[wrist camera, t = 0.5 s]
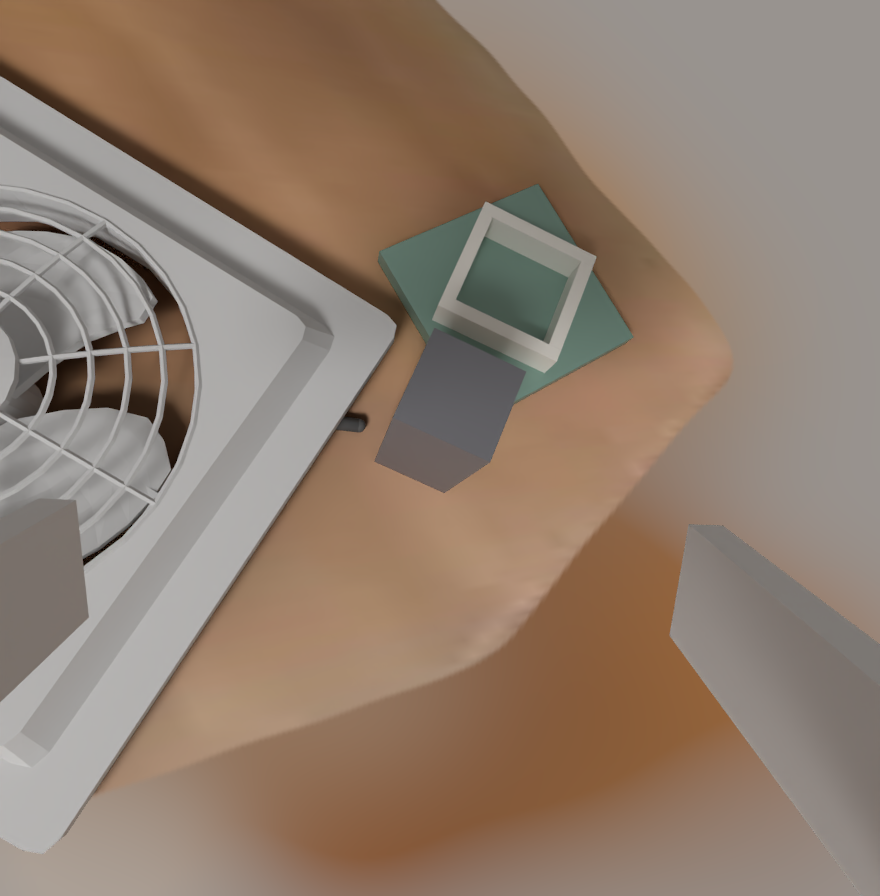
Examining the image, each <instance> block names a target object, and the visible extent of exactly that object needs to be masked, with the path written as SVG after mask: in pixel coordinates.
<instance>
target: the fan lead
mask: <svg viewBox="0 0 880 896" xmlns="http://www.w3.org/2000/svg"><path fill="white" fill-rule="evenodd" d="M365 426H366V425H365V422H364V421H363V420H362V419H359V418H351V417H343V419H342V420H341V422H340V423H339V425H338V426H337V428H336V429H335V430H343V431H352V432H362V431H363V430H364V429H365Z"/></svg>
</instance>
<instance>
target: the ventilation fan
mask: <svg viewBox="0 0 880 896" xmlns="http://www.w3.org/2000/svg"><path fill="white" fill-rule="evenodd" d="M0 222H40V223H44V224H48V225H51V226H54V227H56V228H58V229H60V230H62V231H64V232H66V233H68V234H70V235H72V236H69V235H63V234H58V233H52V232H46V231H9V232H6V231H3V230H0V518H2V517H4V516H6V515H8V514H10V513H12V512H14V511H16V510H18V509H19V508H21V507H23V506H25V505H27V504H29V503H31V502H33V501H35V500H37V499H64V500H76V503H77V512H78V521H79V531H80V540H81V549H82V558H83V559H84V558H86V557H87V556H89V555H91V554H93V553H95V552H96V551H98V550H100V549H101V548H103V547H104V546H105V545H107V544H108V543H109V542H110V541H112V540H113V539H114V538H115V537H117V536H118V535H119V534H121V533H122V532H123V531H124V530H126V529H127V528H128V527H129V526H131V525H132V524H133V522H134V521H135V520H136V519H137V518H138V517H139V516H140V515H141V514H142V512H143V511H144V510H145V509H146V508H147V509H146V510H145V511H144V513H143V514H142V515H141V516H140V517H139V519H138V520H137V521H136V522H135V523H134V524H133V525H132V526H131V528H130V529H129V530H128V531H127V532H126V533H125V534H124V535H123V537H121V538H120V539H119V540H117V541H116V542H115V543H114V544H112V545H111V546H110V547H108V548H107V549H106V550H104V551H103V552H102V553H100V554H99V555H98V556H96V557H95V558H94V559H92V560H91V561H90V562H88V563H87V564H86V565H85V566H83V567H84V577H85V586H86V595H87V604H88V613H89V618H88V619H87V620H86V621H85V622H84V623H83V624H82V625H81V626H79V627H78V628H77V629H76V630H75V631H74V632H73V633H72V634H71V635H70V636H69V637H68V638H67V639H66V640H65V641H64V642H63V643H62V644H61V645H60V646H59V647H58V648H57V649H55V650H54V651H53V652H52V653H51V654H50V655H49V656H48V657H47V658H46V659H45V660H44V661H43V662H42V663H41V664H40V665H39V666H38V667H37V668H36V669H35V670H34V671H33V672H31V673H30V674H29V675H28V676H27V677H26V678H25V679H24V680H23V681H22V682H21V683H20V684H19V685H18V686H17V687H16V688H15V689H14V690H13V691H12V692H11V693H10V694H9V695H7V696H6V697H5V698H4V699H3V700H2V701H1V702H0V838H2V839H4V840H5V841H7V842H9V843H11V844H12V845H14V846H16V847H18V848H19V849H21V850H23V851H28V852H34V853H40V854H44V853H45V852H46V851H47V850H48V849H50V847H52V846H53V845H54V844H55V843H57V842H58V841H59V840H60V839H61V838H62V837H64V836H65V835H66V834H67V833H68V831H69V830H70V828H71V827H72V825H73V824H74V822H75V821H76V819H77V818H78V816H79V815H80V813H81V812H82V810H83V809H84V807H85V806H86V804H87V803H88V801H89V800H90V798H91V797H92V795H93V794H94V792H95V791H96V789H97V788H98V786H99V785H100V783H101V782H102V780H103V779H104V777H105V776H106V774H107V773H108V771H109V770H110V768H111V767H112V765H113V764H114V762H115V761H116V759H117V758H118V756H119V755H120V753H121V752H122V750H123V748H124V747H125V745H126V744H127V742H128V741H129V739H130V738H131V736H132V735H133V733H134V732H135V730H136V729H137V727H138V726H139V724H140V723H141V721H142V720H143V718H144V717H145V715H146V714H147V712H148V711H149V709H150V708H151V706H152V705H153V703H154V702H155V700H156V699H157V697H158V696H159V694H160V693H161V691H162V690H163V688H164V687H165V685H166V684H167V682H168V681H169V679H170V678H171V676H172V675H173V673H174V672H175V670H176V669H177V667H178V666H179V664H180V663H181V661H182V660H183V658H184V657H185V655H186V654H187V652H188V651H189V649H190V648H191V646H192V645H193V643H194V642H195V640H196V639H197V637H198V636H199V634H200V633H201V631H202V630H203V628H204V627H205V625H206V624H207V622H208V621H209V619H210V618H211V616H212V615H213V613H214V612H215V610H216V609H217V607H218V605H219V604H220V602H221V601H222V599H223V598H224V596H225V595H226V593H227V592H228V590H229V589H230V587H231V586H232V584H233V583H234V581H235V580H236V578H237V577H238V575H239V574H240V572H241V571H242V569H243V568H244V566H245V565H246V563H247V562H248V560H249V559H250V557H251V556H252V554H253V553H254V551H255V550H256V548H257V547H258V545H259V544H260V542H261V541H262V539H263V538H264V536H265V535H266V533H267V532H268V530H269V529H270V527H271V526H272V524H273V523H274V521H275V520H276V518H277V517H278V515H279V514H280V512H281V511H282V509H283V508H284V506H285V505H286V503H287V502H288V500H289V499H290V497H291V496H292V494H293V493H294V491H295V490H296V488H297V487H298V485H299V484H300V482H301V481H302V479H303V478H304V476H305V475H306V473H307V472H308V470H309V469H310V467H311V466H312V464H313V462H314V461H315V459H316V458H317V456H318V455H319V453H320V452H321V450H322V449H323V447H324V446H325V444H326V443H327V441H328V440H329V438H330V437H331V435H332V434H333V432H334V431H335V429H336V428H337V426H338V425H339V423H340V422H341V420H342V419H343V417H344V416H345V414H346V413H347V411H348V410H349V408H350V407H351V405H352V404H353V402H354V401H355V399H356V398H357V396H358V395H359V393H360V392H361V390H362V389H363V387H364V386H365V384H366V383H367V381H368V380H369V378H370V377H371V375H372V374H373V372H374V371H375V369H376V368H377V366H378V365H379V363H380V362H381V360H382V359H383V357H384V356H385V354H386V353H387V351H388V350H389V348H390V347H391V345H392V344H393V342H394V337H395V331H396V326H397V325H396V324H395V323H394V322H393V321H392V319H391V318H390V317H389V316H388V315H387V314H385V313H384V312H382V311H381V310H379V309H377V308H376V307H374V306H372V305H371V304H369V303H368V302H366V301H364V300H363V299H361V298H359V297H358V296H356V295H355V294H353V293H351V292H350V291H348V290H346V289H345V288H343V287H342V286H340V285H338V284H337V283H335V282H333V281H332V280H330V279H329V278H327V277H325V276H324V275H322V274H321V273H319V272H317V271H316V270H314V269H312V268H311V267H309V266H308V265H306V264H304V263H303V262H301V261H299V260H298V259H296V258H295V257H293V256H291V255H290V254H288V253H286V252H285V251H283V250H282V249H280V248H278V247H277V246H275V245H273V244H272V243H270V242H269V241H267V240H265V239H264V238H262V237H260V236H259V235H257V234H256V233H254V232H252V231H251V230H249V229H248V228H246V227H244V226H243V225H241V224H239V223H238V222H236V221H235V220H233V219H231V218H230V217H228V216H226V215H225V214H223V213H222V212H220V211H218V210H217V209H215V208H213V207H212V206H210V205H209V204H207V203H205V202H204V201H202V200H200V199H199V198H197V197H196V196H194V195H192V194H191V193H189V192H187V191H186V190H184V189H183V188H181V187H179V186H178V185H176V184H174V183H173V182H171V181H170V180H168V179H166V178H165V177H163V176H162V175H160V174H158V173H157V172H155V171H153V170H152V169H150V168H149V167H147V166H145V165H144V164H142V163H140V162H139V161H137V160H136V159H134V158H132V157H131V156H129V155H127V154H126V153H124V152H123V151H121V150H119V149H118V148H116V147H114V146H113V145H111V144H110V143H108V142H106V141H105V140H103V139H101V138H100V137H98V136H97V135H95V134H93V133H92V132H90V131H89V130H87V129H85V128H84V127H82V126H80V125H79V124H77V123H76V122H74V121H72V120H71V119H69V118H67V117H66V116H64V115H63V114H61V113H59V112H58V111H56V110H54V109H53V108H51V107H50V106H48V105H46V104H45V103H43V102H41V101H40V100H38V99H37V98H35V97H33V96H32V95H30V94H28V93H27V92H25V91H24V90H22V89H20V88H19V87H17V86H15V85H14V84H12V83H11V82H9V81H7V80H6V79H4V78H3V77H1V76H0ZM90 237H96V238H99V239H100V240H102V241H104V242H105V243H107V244H109V245H110V246H112V247H114V248H115V249H117V250H119V251H120V252H122V253H123V254H125V255H127V256H128V257H130V258H132V259H133V260H135V261H137V262H138V263H140V264H141V265H143V266H145V267H146V268H148V269H150V271H151V272H152V273H153V274H154V275H155V276H156V278H157V279H158V280H159V281H160V282H161V283H162V285H163V286H164V287H165V288H166V289H167V290H168V292H169V293H170V294H171V295H172V296H173V297H174V299H175V300H176V301H177V303H178V305H179V308H180V310H181V313H182V316H183V318H184V321H185V324H186V327H187V330H188V333H189V336H190V340H191V343H181V344H164V341H163V338H162V334H161V331H160V328H159V324H158V321H157V318H156V315H155V312H154V311H153V308H154V307H155V305H156V304H157V302H158V301H157V300H156V298H155V297H154V295H153V293H152V292H151V290H150V289H149V287H148V286H147V284H146V283H145V281H144V280H143V279H142V278H141V277H140V276H139V275H138V274H137V273H136V272H135V271H134V270H133V269H132V268H131V267H130V266H129V265H128V264H127V263H126V262H125V261H123V260H122V259H121V258H119V257H118V256H116V255H114V254H113V253H111V252H109V251H108V250H106V249H104V248H103V247H101V246H99V245H97V244H96V243H95V242H93V241H92V240H91V239H89V238H90ZM148 316H150V320H151V323H152V326H153V330H154V333H155V336H156V340H157V343H158V345H148V346H134V347H130V346H129V343H128V339H127V336H126V333H125V328H128V327H132V326H135V325H139V324H142V323H145V321H146V319H147V318H148ZM117 331H118V332H119V336H120V339H121V343H122V346H123V347H121V348H110V349H99V350H93V348H92V344H91V341H94V340H96V339H99V338H102V337H104V336H107V335H109V334H112V333H115V332H117ZM83 346H85V349H86V351H78V352H76V351H77V350H79V349H80V348H82V347H83ZM179 349H193V360H194V373H195V392H194V399H193V406H192V414H191V421H190V425H189V428H188V431H187V434H186V437H185V440H184V443H183V445H182V448H181V451H180V454H179V457H178V459H177V462H176V465H175V466H174V468H173V470H171V466H170V462H169V458H168V454H167V450H166V446H165V442H164V440H163V438H162V437H161V436H160V434H159V433H158V429H159V427H160V424H161V421H162V418H163V412H164V406H165V399H166V392H167V385H168V376H167V362H166V350H179ZM149 351H159V357H160V370H161V387H160V393H159V400H158V407H157V414H156V418H155V421H154V423H153V424H152V423H151V422H150V420H149V419H148V418H146V417H143V416H139V415H135V414H131V413H127V410H128V403H129V397H130V391H131V385H132V366H131V353H136V352H149ZM113 354H124V365H125V384H124V390H123V396H122V402H121V409H120V411H119V410H115V409H111V408H92V409H88V408H89V406H90V404H91V399H92V393H93V387H94V381H95V364H94V356H102V355H113ZM82 357H87V369H88V379H87V385H86V390H85V396H84V401H83V404H82V406H81V409H74V410H62V411H56V412H51V413H46V411H47V409H48V406H49V404H50V402H51V399H52V397H53V393H54V388H55V383H56V378H57V368H56V365H57V364H58V363H60V362H61V361H63V360H64V359H73V358H82ZM48 371H49V379H48V384H47V389H46V394H45V396H44V399H43V398H42V395H41V392H40V390H39V388H38V387H37V386H36V385H35V384H34V383H35V382H37V381H38V380H39V379H40V378H41V377H42V376H44V375H45V374H46V373H47V372H48ZM45 413H46V414H45Z"/></svg>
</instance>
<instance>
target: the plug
mask: <svg viewBox="0 0 880 896" xmlns="http://www.w3.org/2000/svg"><path fill="white" fill-rule="evenodd" d="M525 374H526V371H524V370H522V369H520V368H518V367H516V366H514V365H512V364H510V363H507V362H505V361H503V360H501V359H499V358H497V357H495V356H493V355H491V354H489V353H487V352H484V351H482V350H480V349H478V348H476V347H474V346H472V345H470V344H468V343H466V342H464V341H461V340H459V339H457V338H455V337H453V336H451V335H449V334H447V333H445V332H443V331H441V330H438V329H436V328H434V329H433V332H432V334H431V336H430V338H429V340H428V342H427V345H426V347H425V349H424V351H423V353H422V355H421V358H420V360H419V362H418V364H417V366H416V368H415V371H414V373H413V375H412V377H411V379H410V381H409V384H408V386H407V388H406V390H405V392H404V394H403V397H402V399H401V401H400V403H399V405H398V407H397V410H396V412H395V414H394V416H393V418H392V421H391V423H390V425H389V428H388V430H387V433H386V435H385V437H384V440H383V442H382V444H381V447H380V449H379V452H378V454H377V456H376V459H375V461H374V462H377V463H379V464H381V465H383V466H386V467H388V468H390V469H392V470H394V471H397V472H399V473H401V474H403V475H405V476H408V477H410V478H412V479H414V480H417V481H419V482H421V483H423V484H425V485H428V486H430V487H432V488H434V489H437V490H439V491H441V492H443V493H445V492H446V491H448V490H449V489H451V488H452V487H454V486H455V485H457V484H458V483H460V482H461V481H463V480H464V479H466V478H467V477H469V476H470V475H472V474H473V473H475V472H476V471H478V470H479V469H481V468H482V467H484V466H485V465H487V464H488V463H490V461H491V459H492V456H493V454H494V451H495V449H496V446H497V444H498V441H499V439H500V436H501V434H502V431H503V429H504V426H505V424H506V421H507V419H508V416H509V414H510V411H511V409H512V406H513V404H514V401H515V399H516V396H517V394H518V391H519V389H520V386H521V384H522V381H523V379H524V376H525Z"/></svg>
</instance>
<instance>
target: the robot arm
mask: <svg viewBox="0 0 880 896" xmlns="http://www.w3.org/2000/svg"><path fill="white" fill-rule="evenodd" d="M88 618H89V613H88V604H87V595H86V586H85V577H84V567H83V558H82V549H81V540H80V531H79V521H78V512H77V503H76V500H64V499H37V500H35V501H33V502H31V503H29V504H27V505H25V506H23V507H21V508H19V509H18V510H16V511H14V512H12V513H10V514H8V515H6V516H4V517H2V518H0V702H1V701H2V700H3V699H4V698H5V697H6V696H7V695H9V694H10V693H11V692H12V691H13V690H14V689H15V688H16V687H17V686H18V685H19V684H20V683H21V682H22V681H23V680H24V679H25V678H26V677H27V676H28V675H29V674H30V673H31V672H33V671H34V670H35V669H36V668H37V667H38V666H39V665H40V664H41V663H42V662H43V661H44V660H45V659H46V658H47V657H48V656H49V655H50V654H51V653H52V652H53V651H54V650H55V649H57V648H58V647H59V646H60V645H61V644H62V643H63V642H64V641H65V640H66V639H67V638H68V637H69V636H70V635H71V634H72V633H73V632H74V631H75V630H76V629H77V628H78V627H79V626H81V625H82V624H83V623H84V622H85V621H86V620H87V619H88ZM670 637H671V638H672V639H673V641H674V642H675V643H676V645H677V646H678V648H679V649H680V650H681V652H682V653H683V654H684V656H685V657H686V658H687V660H688V661H689V662H690V664H691V665H692V667H693V668H694V669H695V671H696V672H697V674H698V675H699V676H700V678H701V679H702V680H703V682H704V683H705V684H706V686H707V687H708V688H709V690H710V691H711V692H712V694H713V695H714V696H715V698H716V699H717V701H718V702H719V703H720V705H721V706H722V708H723V709H724V710H725V711H726V713H727V714H728V716H729V717H730V718H731V720H732V721H733V722H734V724H735V725H736V727H737V728H738V729H739V730H740V732H741V733H742V735H743V736H744V737H745V739H746V740H747V741H748V743H749V744H750V746H751V747H752V748H753V750H754V751H755V752H756V754H757V755H758V757H759V758H760V759H761V760H762V762H763V763H764V765H765V766H766V767H767V769H768V770H769V772H770V773H771V774H772V776H773V777H774V778H775V780H776V781H777V782H778V784H779V785H780V787H781V788H782V789H783V791H784V792H785V793H786V795H787V796H788V797H789V799H790V800H791V801H792V803H793V804H794V805H795V807H796V808H797V810H798V811H799V812H800V814H801V815H802V816H803V818H804V819H805V821H806V822H807V823H808V825H809V826H810V827H811V829H812V830H813V831H814V832H815V834H816V835H817V837H818V838H819V840H820V841H821V842H822V844H823V845H824V846H825V847H826V849H827V850H828V852H829V853H830V854H831V856H832V857H833V859H834V860H835V861H836V863H837V864H838V865H839V867H840V868H841V869H842V871H843V872H844V874H845V875H846V876H847V877H848V879H849V880H850V881H851V883H852V884H853V886H854V887H855V889H856V890H857V891H858V892H859V894H860V895H861V896H880V644H879V643H878V642H876V641H875V640H874V639H872V638H871V637H870V636H868V635H867V634H866V633H864V632H863V631H862V630H860V629H859V628H858V627H856V626H855V625H854V624H852V623H851V622H850V621H848V620H847V619H846V618H844V617H843V616H841V615H840V614H839V613H838V612H837V611H835V610H834V609H833V608H831V607H830V606H828V605H827V604H826V603H824V602H823V601H822V600H821V599H819V598H818V597H817V596H815V595H814V594H813V593H811V592H810V591H809V590H807V589H806V588H805V587H803V586H802V585H801V584H799V583H798V582H796V581H795V580H794V579H793V578H791V577H790V576H789V575H787V574H786V573H785V572H783V571H782V570H781V569H779V568H778V567H777V566H776V565H774V564H773V563H772V562H770V561H769V560H768V559H766V558H765V557H764V556H762V555H761V554H759V553H758V552H757V551H756V550H754V549H753V548H752V547H750V546H749V545H748V544H746V543H745V542H744V541H742V540H741V539H740V538H739V537H737V536H736V535H735V534H733V533H732V532H731V531H729V530H728V529H726V528H725V527H724V526H719V525H717V526H716V525H694V524H693V525H692V524H689V526H688V532H687V537H686V544H685V550H684V555H683V561H682V567H681V572H680V578H679V584H678V590H677V595H676V601H675V607H674V613H673V619H672V624H671V630H670Z"/></svg>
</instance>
